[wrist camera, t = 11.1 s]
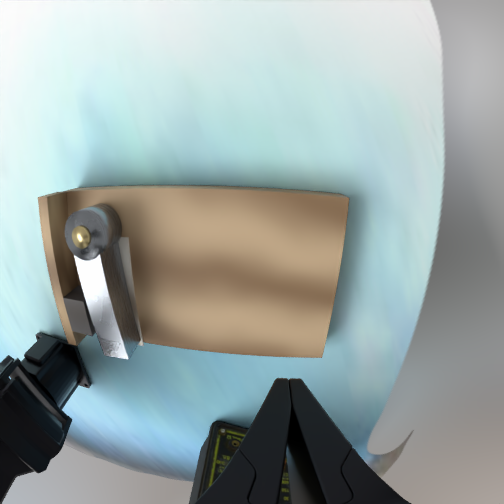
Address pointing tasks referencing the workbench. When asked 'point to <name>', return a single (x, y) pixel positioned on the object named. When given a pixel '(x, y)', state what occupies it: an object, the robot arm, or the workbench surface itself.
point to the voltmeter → (225, 460)
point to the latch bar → (103, 277)
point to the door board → (211, 265)
